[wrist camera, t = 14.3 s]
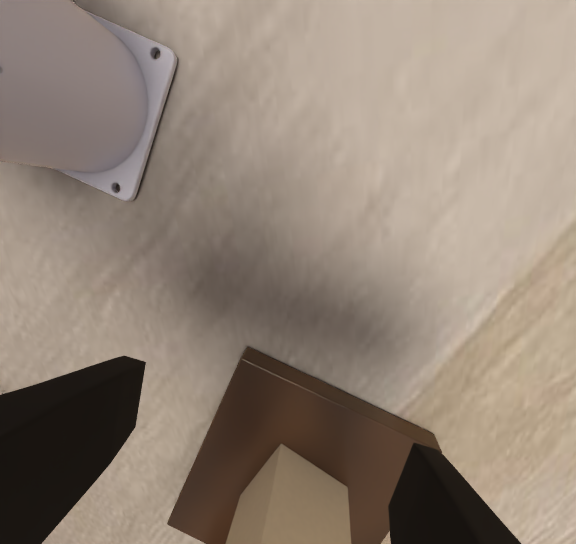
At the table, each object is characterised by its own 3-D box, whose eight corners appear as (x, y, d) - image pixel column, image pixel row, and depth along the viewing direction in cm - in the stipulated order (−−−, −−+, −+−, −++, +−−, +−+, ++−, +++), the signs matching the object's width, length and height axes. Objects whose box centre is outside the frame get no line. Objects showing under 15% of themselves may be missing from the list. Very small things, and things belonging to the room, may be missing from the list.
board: (176, 504, 22) (166, 524, 21) (247, 345, 19) (240, 357, 18) (336, 582, 22) (337, 608, 21) (434, 433, 19) (443, 452, 18)
